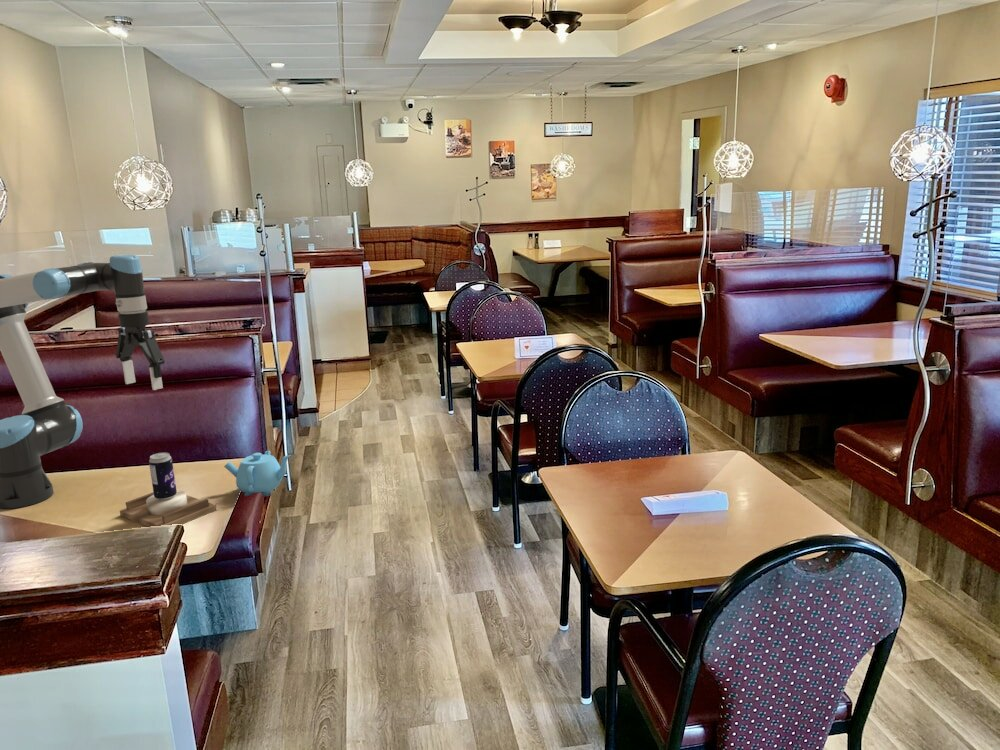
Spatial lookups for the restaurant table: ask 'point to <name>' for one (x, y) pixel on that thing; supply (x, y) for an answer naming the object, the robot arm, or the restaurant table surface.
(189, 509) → the brown wooden tray
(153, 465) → the beverage can
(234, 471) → the teapot
